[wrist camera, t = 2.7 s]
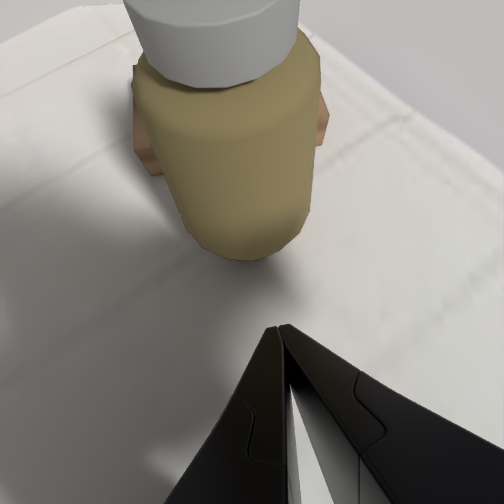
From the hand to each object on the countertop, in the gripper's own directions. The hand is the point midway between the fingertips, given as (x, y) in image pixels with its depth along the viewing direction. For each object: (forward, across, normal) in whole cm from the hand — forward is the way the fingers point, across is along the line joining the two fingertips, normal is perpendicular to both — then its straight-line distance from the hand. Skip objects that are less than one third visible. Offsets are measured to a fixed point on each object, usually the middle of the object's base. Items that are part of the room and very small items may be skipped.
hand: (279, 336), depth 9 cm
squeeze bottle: (+12, 0, 0) cm, 12 cm away
